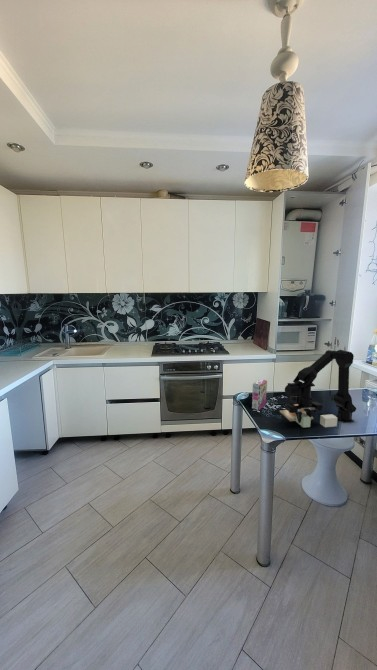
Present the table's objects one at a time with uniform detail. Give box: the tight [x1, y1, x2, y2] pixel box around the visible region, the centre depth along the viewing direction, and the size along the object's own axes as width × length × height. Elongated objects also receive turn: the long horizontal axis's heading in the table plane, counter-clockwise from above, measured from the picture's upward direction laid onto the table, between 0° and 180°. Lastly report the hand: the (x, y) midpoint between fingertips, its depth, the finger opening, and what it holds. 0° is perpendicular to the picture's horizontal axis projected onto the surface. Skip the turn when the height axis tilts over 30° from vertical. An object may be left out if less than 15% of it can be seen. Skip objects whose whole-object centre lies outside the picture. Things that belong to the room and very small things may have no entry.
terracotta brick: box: [289, 403, 305, 416], centre depth 150 cm, size 7×4×5 cm, turn 99°
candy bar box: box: [251, 379, 268, 411], centre depth 161 cm, size 11×5×16 cm, turn 141°
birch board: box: [279, 409, 314, 422], centre depth 150 cm, size 14×12×1 cm
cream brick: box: [319, 413, 338, 428], centre depth 139 cm, size 7×4×5 cm, turn 99°
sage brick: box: [295, 412, 312, 428], centre depth 138 cm, size 7×4×5 cm, turn 8°
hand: (302, 422), depth 138 cm, fingers closed on sage brick, 4 cm apart
